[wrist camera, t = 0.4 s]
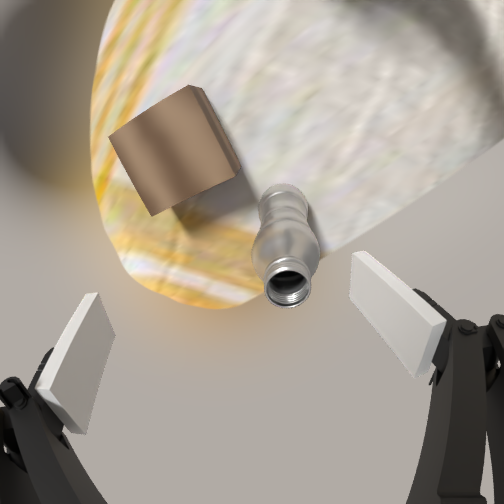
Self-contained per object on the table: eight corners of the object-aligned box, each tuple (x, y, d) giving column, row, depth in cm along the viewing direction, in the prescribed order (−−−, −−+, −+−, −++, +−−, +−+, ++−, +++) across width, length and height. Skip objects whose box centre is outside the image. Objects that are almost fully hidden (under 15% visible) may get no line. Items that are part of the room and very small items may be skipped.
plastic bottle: (311, 185, 37) (342, 259, 20) (299, 229, 41) (314, 327, 23) (264, 175, 37) (254, 241, 20) (255, 220, 40) (238, 314, 23)
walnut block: (201, 88, 32) (188, 84, 27) (241, 166, 37) (235, 176, 32) (129, 131, 35) (108, 136, 30) (167, 201, 40) (151, 216, 35)
